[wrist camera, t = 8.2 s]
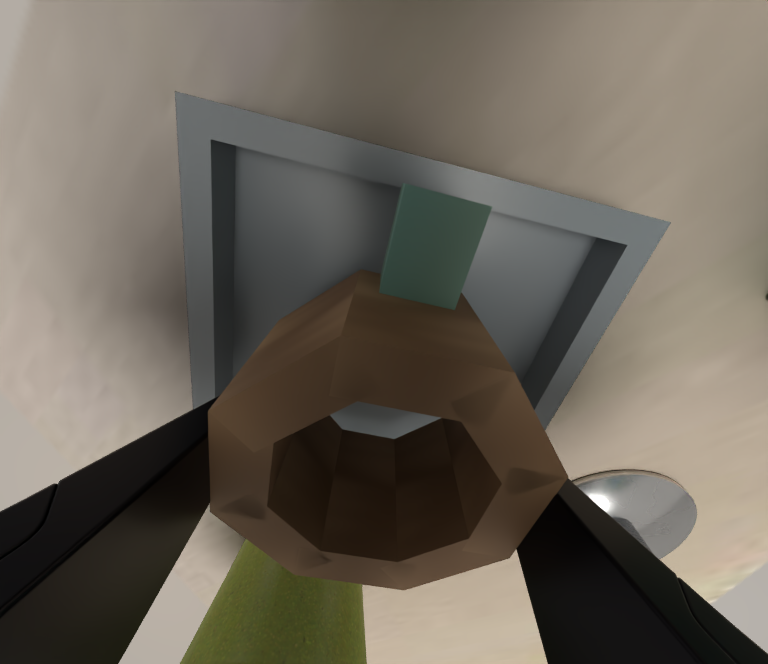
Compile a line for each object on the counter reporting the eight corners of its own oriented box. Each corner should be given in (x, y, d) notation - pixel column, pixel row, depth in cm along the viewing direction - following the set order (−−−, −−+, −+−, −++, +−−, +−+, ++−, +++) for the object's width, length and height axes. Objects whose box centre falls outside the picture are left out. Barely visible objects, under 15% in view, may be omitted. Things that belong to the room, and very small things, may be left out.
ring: (267, 440, 11) (211, 562, 8) (294, 154, 7) (202, 128, 4) (450, 473, 12) (478, 600, 8) (569, 227, 8) (722, 265, 4)
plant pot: (418, 509, 17) (445, 790, 9) (350, 590, 21) (328, 838, 13) (251, 454, 15) (108, 742, 7) (211, 553, 19) (87, 814, 11)
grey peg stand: (566, 456, 15) (652, 588, 10) (728, 486, 16) (880, 621, 11) (496, 559, 19) (533, 690, 14) (629, 579, 20) (708, 710, 15)
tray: (217, 109, 9) (174, 90, 7) (620, 215, 10) (670, 222, 8) (220, 434, 15) (196, 470, 13) (480, 479, 16) (491, 517, 14)
